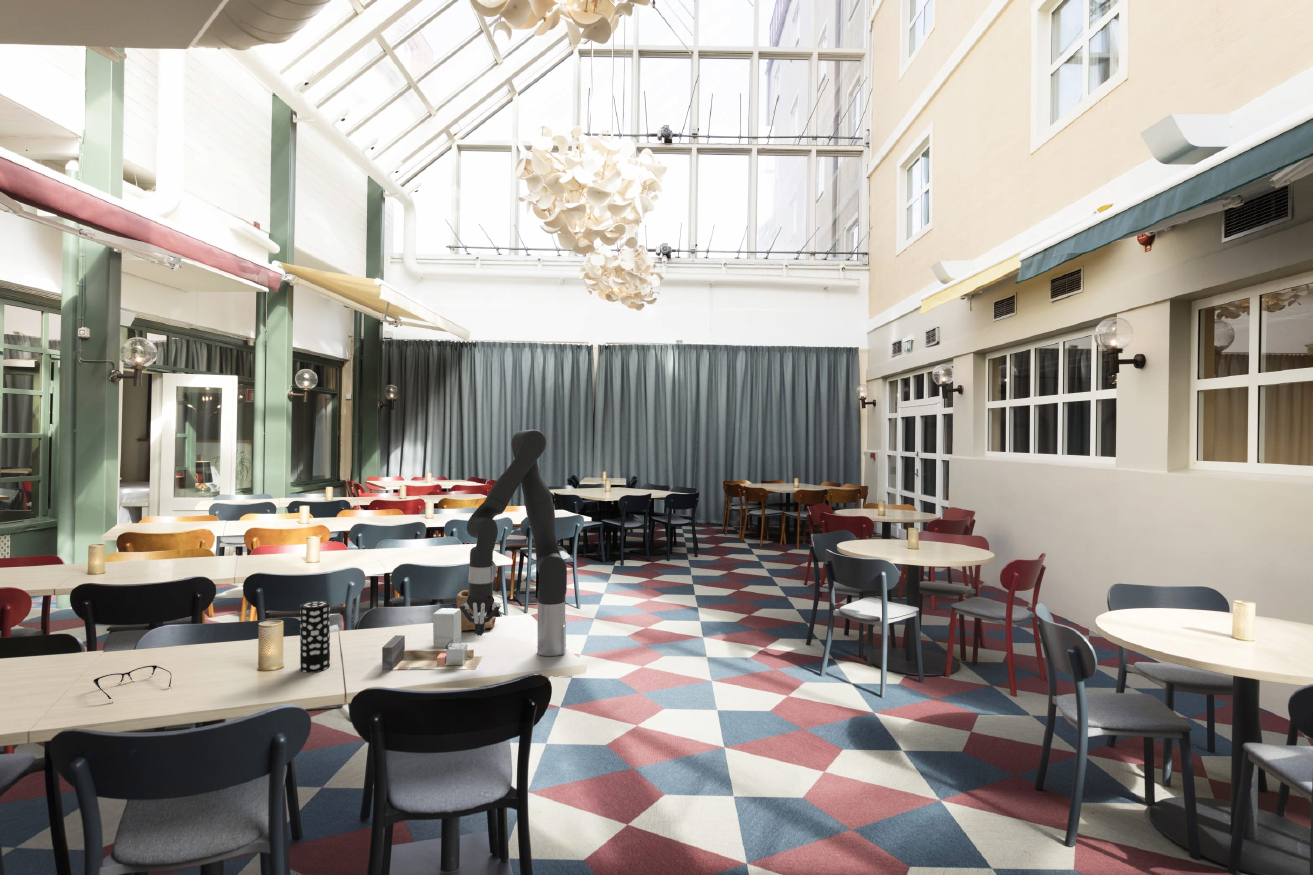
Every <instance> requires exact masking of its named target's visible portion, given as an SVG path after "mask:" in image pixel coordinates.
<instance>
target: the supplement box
mask: <svg viewBox="0 0 1313 875" xmlns="http://www.w3.org/2000/svg"><path fill="white" fill-rule="evenodd" d="M432 618H433V619H432V621H433V622H432V624H433V625H432V628H433V630H432V631H433V634H432V636H433V638H432V639H433V642H432V643H433V647H444V648H445V645H446V644H447V643H448V642H449V641H450V639H453V643H462V631H461V610H460V609H458V608H453V607H452V608H448V607H447V608H446V607H445V608H444V607H441V608H439V609H438V610H437V611H435V612H434V613H432Z"/></svg>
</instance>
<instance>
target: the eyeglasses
mask: <svg viewBox="0 0 1313 875" xmlns="http://www.w3.org/2000/svg"><path fill="white" fill-rule="evenodd" d="M146 668H152V673H151V675H154V674H155V670H156V669H160V670H163V671H166V672H168V673H169V675H170V676H172V673H171V671H169V670H167V669H164V668H163V667H161V666H159V665H155V664H154V665H152V664H151V665H146V666H141V667H138V668H136V669H132V670H129V671H127V672H123V673H120V672H119V673H111V674H106V675H102V676H99V677H96V678H94V679H93V684H95V685H96V687H98V689H100V691H101V692H103V694H105V695H106V697H107V698H108V700H109V699H112V697H111V696H110V695H109V694H108V693H107V692H105V691H104V690H103V688H102V687H101V686H100V684H99V680H100V679H103V678H105V677H109V676H121V680H120V682H121V683H123V682H124V681H125V676H128V678H129V680H131V681H132V679H133V678H132V676H131V673H133V672H135V671H137V670H142V669H146ZM120 682H119V683H120ZM168 683H169V685H168V688H169V687H170V688H171V683H172V677H170V679H169V682H168ZM100 687H101V688H102V689H101V688H100Z"/></svg>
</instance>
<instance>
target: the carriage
mask: <svg viewBox="0 0 1313 875" xmlns="http://www.w3.org/2000/svg"><path fill="white" fill-rule="evenodd" d="M444 648H445V649H446V665H463V664H464V663H465V661H466V660H467V649H468V643H467V642H461V643H453V639H450V641H449V642H448V643H447V644H446V645H445V647H444Z"/></svg>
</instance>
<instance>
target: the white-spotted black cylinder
mask: <svg viewBox="0 0 1313 875" xmlns="http://www.w3.org/2000/svg"><path fill="white" fill-rule="evenodd" d="M330 616H331V603H330V601H327V600H315V601H314V600H313V601H307V602H304V603H301V604H300V606H299V627H300V628H299V634H300V636H299V639H300V641H299V642H300V643H299V647H300V649H299V653H300V655H299V658H300V659H299V661H300V664H299V665H300V667H299V669H300V671H301V672H302V673H308V674H309V673H312V674H313V673H317V672H322V671H325V670H328V669H329V668H330V667H331V621H330V620H331V618H330Z"/></svg>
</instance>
